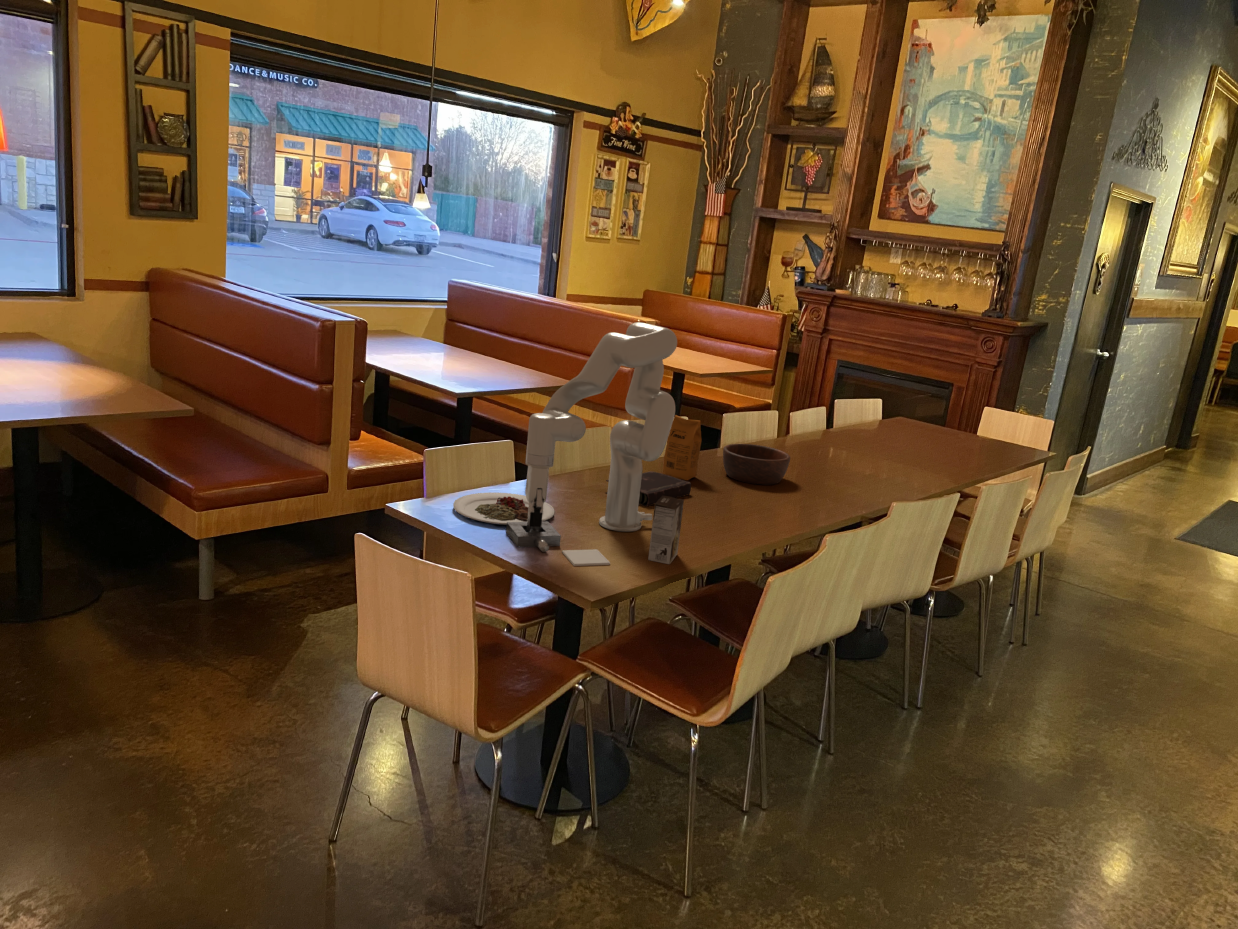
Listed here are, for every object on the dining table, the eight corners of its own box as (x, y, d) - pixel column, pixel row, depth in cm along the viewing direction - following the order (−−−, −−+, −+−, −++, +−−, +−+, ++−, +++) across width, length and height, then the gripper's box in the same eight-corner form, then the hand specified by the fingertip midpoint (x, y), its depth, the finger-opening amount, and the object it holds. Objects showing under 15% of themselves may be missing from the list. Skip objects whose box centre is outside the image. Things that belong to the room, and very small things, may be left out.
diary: (690, 496, 321) (692, 482, 320) (647, 508, 302) (649, 493, 301) (647, 483, 332) (648, 469, 331) (602, 493, 313) (604, 479, 311)
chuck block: (546, 531, 268) (547, 521, 267) (565, 552, 252) (566, 541, 252) (505, 532, 263) (506, 522, 262) (522, 553, 248) (523, 542, 247)
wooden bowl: (707, 475, 350) (711, 448, 348) (739, 465, 370) (742, 440, 368) (768, 491, 337) (772, 463, 334) (797, 480, 357) (801, 454, 355)
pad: (596, 551, 256) (597, 549, 256) (609, 564, 247) (610, 562, 247) (562, 552, 252) (562, 550, 252) (573, 566, 243) (574, 563, 243)
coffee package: (671, 470, 352) (678, 412, 346) (700, 478, 345) (708, 419, 340) (657, 474, 343) (664, 415, 338) (686, 482, 337) (694, 422, 331)
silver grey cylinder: (525, 534, 261) (528, 493, 258) (539, 535, 262) (543, 494, 259) (526, 539, 258) (530, 497, 255) (541, 540, 258) (544, 498, 256)
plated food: (458, 529, 262) (459, 517, 262) (448, 497, 290) (448, 486, 289) (563, 530, 271) (564, 519, 270) (543, 499, 299) (544, 489, 298)
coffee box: (655, 550, 262) (662, 494, 258) (677, 554, 260) (685, 499, 256) (647, 560, 253) (653, 503, 249) (670, 564, 252) (677, 507, 248)
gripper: (523, 450, 262) (518, 513, 266) (529, 466, 246) (523, 533, 250) (549, 452, 263) (544, 514, 268) (557, 468, 247) (551, 534, 252)
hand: (534, 522), depth 259 cm, fingers closed on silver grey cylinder, 4 cm apart
